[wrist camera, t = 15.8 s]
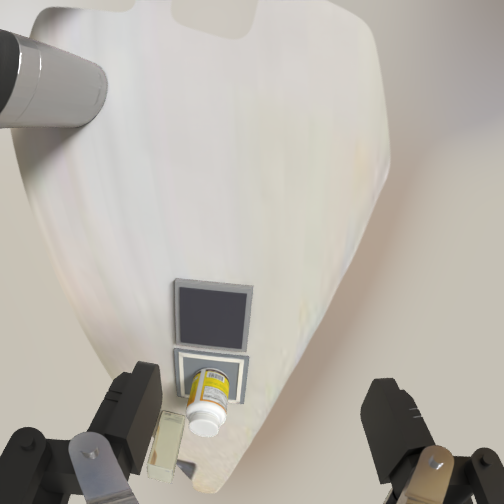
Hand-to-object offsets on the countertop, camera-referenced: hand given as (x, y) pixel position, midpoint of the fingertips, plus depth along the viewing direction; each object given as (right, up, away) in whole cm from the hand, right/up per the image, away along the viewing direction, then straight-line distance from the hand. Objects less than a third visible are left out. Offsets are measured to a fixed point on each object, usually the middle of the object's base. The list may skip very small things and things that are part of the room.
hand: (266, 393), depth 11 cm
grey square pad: (-7, -14, +35) cm, 38 cm away
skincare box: (-15, -26, +39) cm, 50 cm away
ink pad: (-6, -3, +31) cm, 32 cm away
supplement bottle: (-7, -14, +34) cm, 38 cm away
